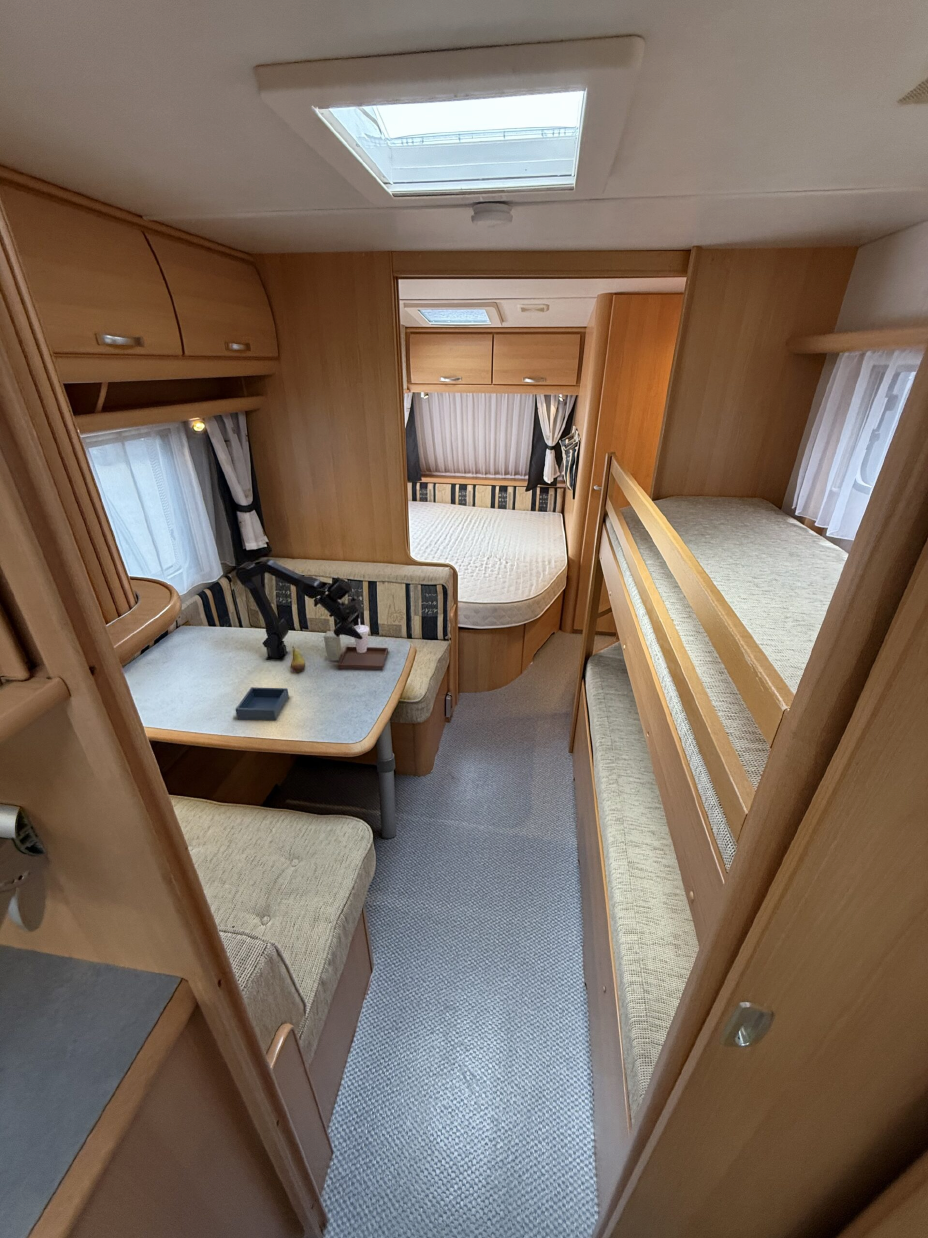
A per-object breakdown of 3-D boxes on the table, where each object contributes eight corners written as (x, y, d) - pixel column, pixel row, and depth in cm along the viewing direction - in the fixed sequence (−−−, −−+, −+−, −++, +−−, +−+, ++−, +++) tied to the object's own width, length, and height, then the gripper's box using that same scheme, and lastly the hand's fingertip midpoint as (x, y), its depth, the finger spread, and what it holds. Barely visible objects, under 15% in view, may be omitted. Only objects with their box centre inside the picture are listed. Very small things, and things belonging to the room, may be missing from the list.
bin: (237, 719, 160) (235, 709, 158) (253, 696, 171) (251, 687, 170) (275, 720, 160) (274, 710, 158) (289, 697, 171) (287, 688, 170)
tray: (337, 669, 189) (337, 664, 188) (346, 650, 202) (346, 646, 201) (382, 670, 189) (382, 665, 188) (388, 652, 201) (388, 647, 200)
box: (342, 655, 198) (340, 631, 193) (339, 661, 194) (336, 636, 189) (329, 655, 198) (327, 630, 193) (326, 660, 194) (323, 635, 190)
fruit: (309, 669, 188) (306, 642, 183) (297, 676, 184) (293, 648, 178) (300, 665, 191) (296, 637, 186) (288, 671, 187) (283, 643, 181)
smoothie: (350, 653, 190) (348, 620, 183) (357, 645, 195) (355, 613, 189) (366, 655, 188) (364, 623, 182) (372, 647, 194) (370, 615, 188)
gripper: (339, 604, 173) (371, 634, 177) (354, 584, 190) (383, 612, 194) (319, 622, 177) (351, 651, 181) (336, 601, 194) (365, 628, 198)
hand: (364, 634), depth 189 cm, fingers closed on smoothie, 6 cm apart
